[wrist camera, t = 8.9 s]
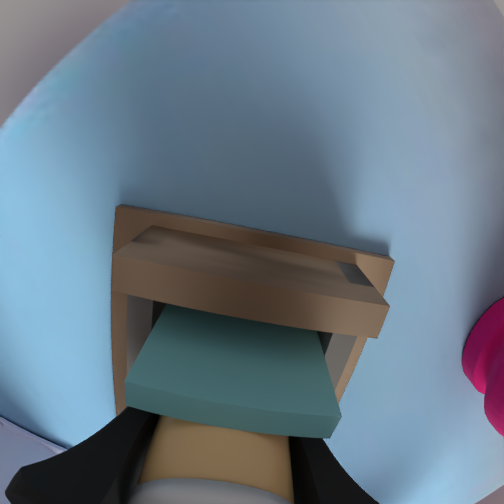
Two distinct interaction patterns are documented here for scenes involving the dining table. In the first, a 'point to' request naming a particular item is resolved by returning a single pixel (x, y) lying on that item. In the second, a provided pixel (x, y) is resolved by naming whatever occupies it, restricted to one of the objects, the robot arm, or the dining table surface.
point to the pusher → (234, 375)
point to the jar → (213, 466)
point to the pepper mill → (488, 362)
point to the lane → (241, 285)
